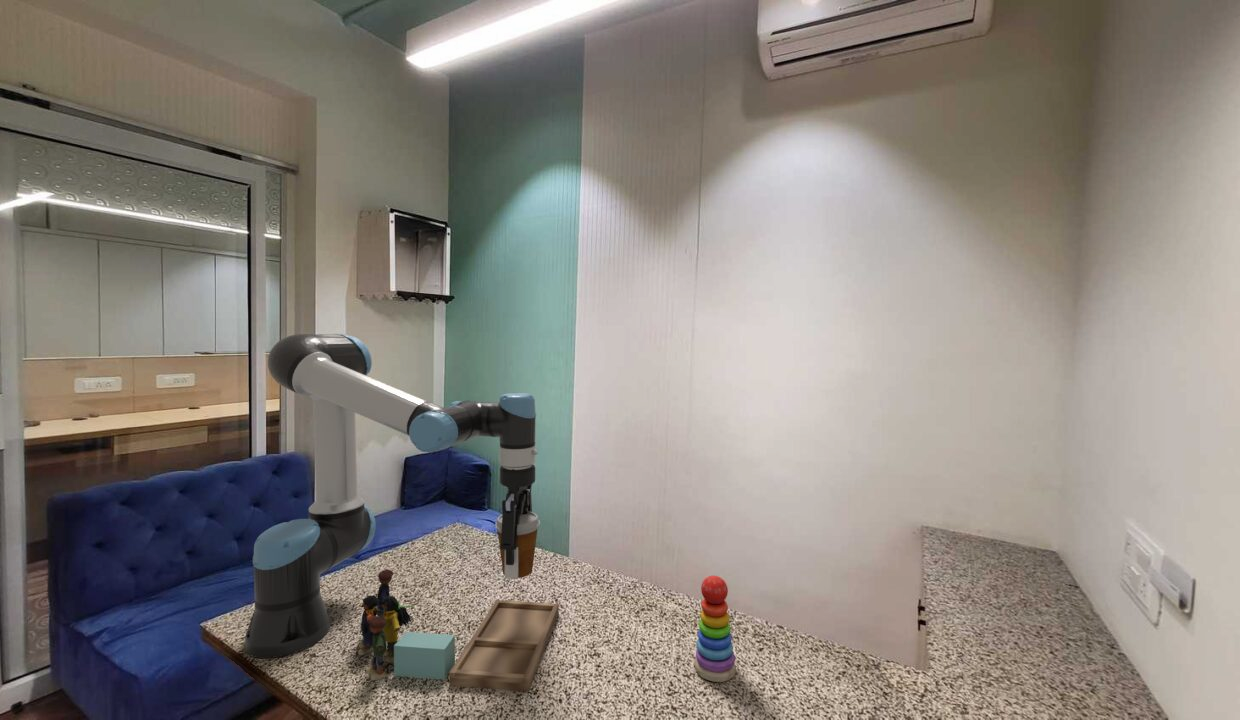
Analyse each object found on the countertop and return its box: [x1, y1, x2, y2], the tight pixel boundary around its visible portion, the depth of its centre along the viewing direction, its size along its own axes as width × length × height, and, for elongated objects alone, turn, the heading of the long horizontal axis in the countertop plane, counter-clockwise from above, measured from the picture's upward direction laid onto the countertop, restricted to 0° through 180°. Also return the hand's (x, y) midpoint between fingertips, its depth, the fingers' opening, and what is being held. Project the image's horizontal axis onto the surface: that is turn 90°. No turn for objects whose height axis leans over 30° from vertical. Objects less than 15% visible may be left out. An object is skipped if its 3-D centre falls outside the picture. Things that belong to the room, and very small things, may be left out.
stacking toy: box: [693, 575, 737, 683], centre depth 97 cm, size 8×8×19 cm
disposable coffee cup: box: [494, 511, 541, 579], centre depth 108 cm, size 10×10×12 cm
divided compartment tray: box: [448, 599, 560, 693], centre depth 104 cm, size 15×26×2 cm, turn 175°
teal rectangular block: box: [393, 631, 456, 681], centre depth 96 cm, size 10×4×6 cm, turn 85°
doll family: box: [357, 569, 415, 681], centre depth 103 cm, size 23×9×13 cm, turn 41°
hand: (517, 568), depth 108 cm, fingers closed on disposable coffee cup, 8 cm apart
